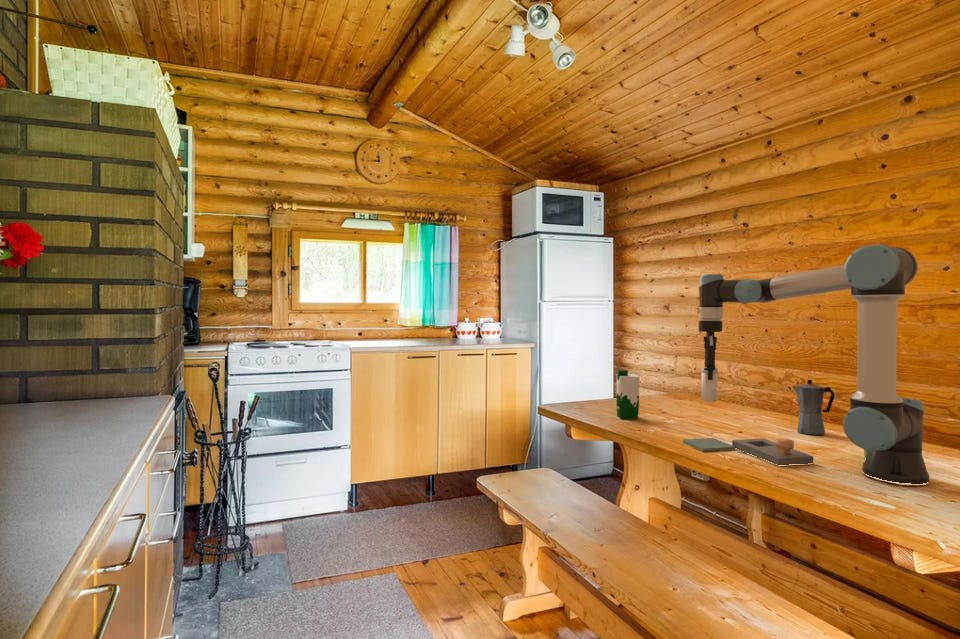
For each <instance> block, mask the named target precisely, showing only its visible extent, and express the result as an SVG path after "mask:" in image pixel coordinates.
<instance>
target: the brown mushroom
mask: <svg viewBox="0 0 960 639" xmlns="http://www.w3.org/2000/svg"><path fill="white" fill-rule="evenodd" d="M775 446H776V447H778V453H780V454H783V455H788V454H791V449H795V447H794V446H795V441H794V440H792V439H790V438H789V439H788V438H781V437H780V438H776V439H775Z"/></svg>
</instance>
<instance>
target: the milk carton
mask: <svg viewBox="0 0 960 639" xmlns="http://www.w3.org/2000/svg"><path fill="white" fill-rule="evenodd" d="M628 372H629V370H627V369H619V370H617V374H615V375H616V393H615V394H616V395H615V398H616V401H615V403H616V406H615V407H616V416H617V417H618V418H619V419H620V420H638V419H639V411H640V376H639V375H636V374H633V373H632V374H629V373H628Z"/></svg>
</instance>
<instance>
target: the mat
mask: <svg viewBox="0 0 960 639" xmlns="http://www.w3.org/2000/svg"><path fill="white" fill-rule="evenodd" d="M682 443H683V444H686V445H687V446H689V447H691V448H694V449H697V450H698V451H700V452H702V453H703V452H704V453H706V451H708V452H718V451H717V450H725V451H733V450H732V449H735V447H734V446H732V444H729V443H728V442H727V443H726V442H724V441H722V440H720V439H716V438H715V437H708V438H703V437H702V438H691V439H690V438H688V439H682ZM735 450H736V449H735Z"/></svg>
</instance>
